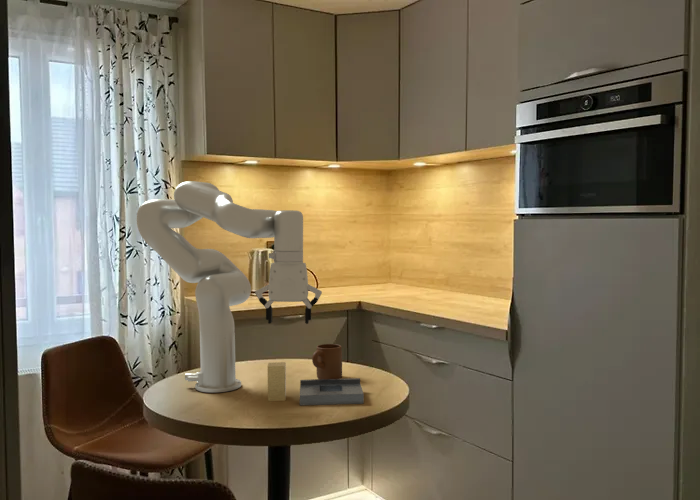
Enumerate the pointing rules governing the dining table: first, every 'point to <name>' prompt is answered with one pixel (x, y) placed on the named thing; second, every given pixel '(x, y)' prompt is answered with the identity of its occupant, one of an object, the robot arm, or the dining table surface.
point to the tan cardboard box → (277, 381)
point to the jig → (331, 391)
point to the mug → (328, 361)
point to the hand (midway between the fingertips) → (288, 322)
